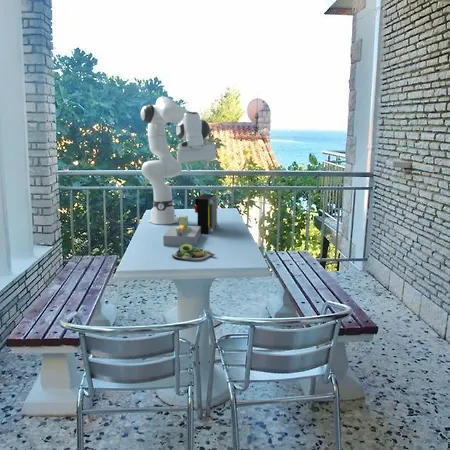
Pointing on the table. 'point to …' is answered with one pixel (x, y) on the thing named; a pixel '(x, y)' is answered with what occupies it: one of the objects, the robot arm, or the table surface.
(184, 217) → the plug
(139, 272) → the table surface
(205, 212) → the electrical component
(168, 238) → the grey flat block
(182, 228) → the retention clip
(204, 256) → the salad plate
